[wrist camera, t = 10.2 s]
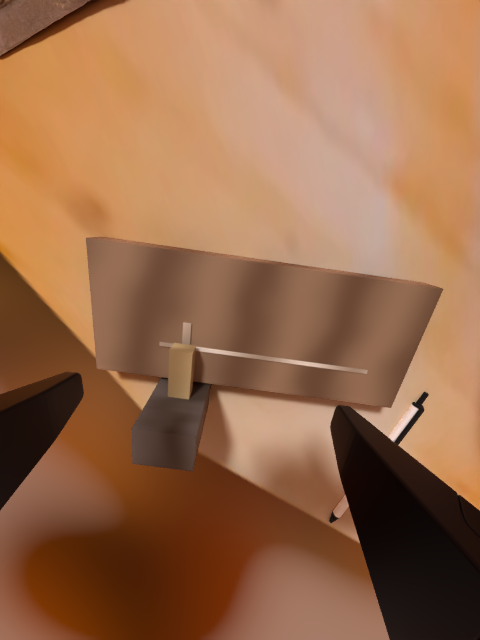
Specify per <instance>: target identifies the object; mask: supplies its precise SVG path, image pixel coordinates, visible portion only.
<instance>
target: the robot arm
mask: <svg viewBox="0 0 480 640" xmlns="http://www.w3.org/2000/svg"><path fill="white" fill-rule="evenodd" d="M83 394H84V392H83V385H82V378H81V375H80V374H79V373H76V372H64V373H61V374H58V375H55V376H53V377H50V378H47V379H44V380H41V381H38V382H35V383H32V384H29V385H26V386H23V387H20V388H18V389H15V390H12V391H9V392H6V393H3V394H0V510H1V509H2V507H3V506H4V505H5V504H6V502H7V501H8V500H9V498H10V497H11V496H12V495H13V493H14V492H15V491H16V489H17V488H18V487H19V485H20V484H21V483H22V482H23V481H24V479H25V478H26V477H27V476H28V474H29V473H30V472H31V470H32V469H33V468H34V467H35V465H36V464H37V463H38V462H39V460H40V459H41V458H42V456H43V455H44V454H45V453H46V451H47V450H48V449H49V448H50V446H51V445H52V443H53V442H54V441H55V440H56V438H57V437H58V435H59V434H60V432H61V431H62V429H63V428H64V426H65V425H66V423H67V421H68V420H69V418H70V417H71V415H72V414H73V412H74V411H75V409H76V408H77V406H78V404H79V403H80V401H81V400H82V397H83ZM330 429H331V435H332V440H333V445H334V450H335V455H336V460H337V465H338V470H339V474H340V478H341V482H342V485H343V488H344V492H345V495H346V498H347V501H348V505H349V508H350V511H351V515H352V518H353V521H354V524H355V528H356V531H357V534H358V537H359V541H360V544H361V547H362V550H363V554H364V557H365V560H366V564H367V567H368V570H369V573H370V577H371V580H372V583H373V586H374V589H375V593H376V596H377V599H378V603H379V606H380V609H381V612H382V616H383V619H384V622H385V625H386V629H387V632H388V635H389V639H390V640H480V511H479V510H478V509H477V508H475V507H474V506H473V505H472V504H471V503H469V502H468V501H467V500H466V499H464V498H463V497H462V496H460V495H457V492H456V491H454V490H453V489H452V488H451V487H449V486H448V485H447V484H446V483H444V482H443V481H442V480H441V479H439V478H438V477H437V476H436V475H434V474H433V473H432V472H431V471H429V470H428V469H427V468H426V467H424V466H423V465H422V464H421V463H419V462H418V461H417V460H416V459H414V458H413V457H412V456H411V455H409V454H408V453H407V452H406V451H404V450H403V449H402V448H401V447H399V446H398V445H397V444H396V443H395V442H393V441H392V440H391V439H390V438H388V437H387V436H386V435H385V434H383V433H382V432H381V431H380V430H378V429H377V428H376V427H375V426H373V425H372V424H371V423H370V422H368V421H367V420H366V419H365V418H363V417H362V416H361V415H360V414H358V413H357V412H356V411H355V410H353V409H352V408H351V407H349V406H342V405H338V406H337V407H336V408H335V411H334V415H333V418H332V421H331V426H330Z"/></svg>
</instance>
